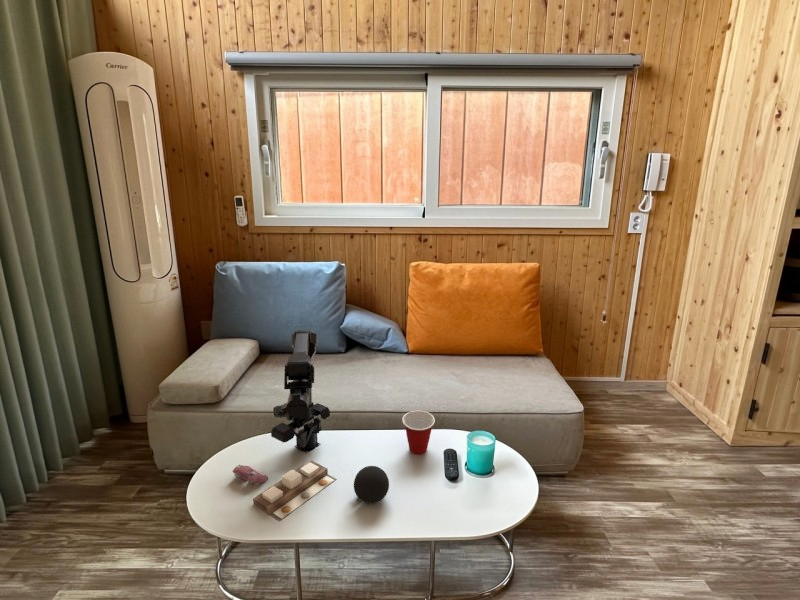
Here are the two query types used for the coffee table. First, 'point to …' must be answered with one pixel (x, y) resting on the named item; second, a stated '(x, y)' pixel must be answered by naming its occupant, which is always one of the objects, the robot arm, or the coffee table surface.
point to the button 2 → (309, 469)
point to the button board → (295, 493)
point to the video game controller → (249, 474)
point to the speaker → (371, 484)
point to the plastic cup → (418, 430)
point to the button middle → (291, 479)
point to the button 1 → (272, 494)
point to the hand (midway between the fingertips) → (303, 446)
